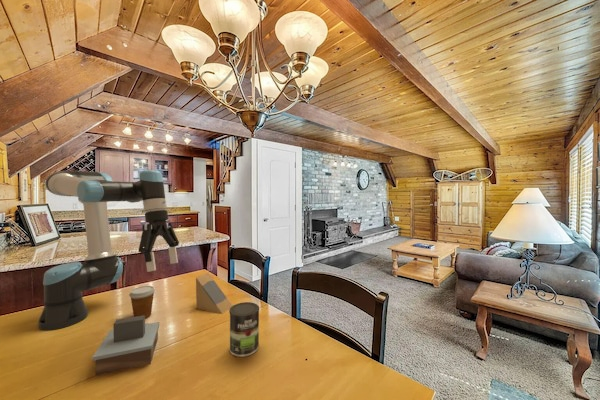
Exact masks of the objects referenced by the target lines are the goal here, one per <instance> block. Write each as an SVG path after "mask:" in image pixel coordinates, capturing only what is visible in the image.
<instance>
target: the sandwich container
mask: <svg viewBox="0 0 600 400" xmlns="http://www.w3.org/2000/svg"><path fill="white" fill-rule="evenodd" d="M195 292H196V294H195V296H196V299H195V300H196V306H195V307H196V309H198V310H202V311H206V312H212V313H216V314H220V315H223V314H224V313H226V312H227V311H229V310H230V308H231V307H232V306H233V304H232V302H231V301H230V300H229V299H228V297H227V296H226V295H225V293H224V292H223V291H222V290H221V288H220V286H219V285H218V284H217V282H216V281H215V279H214V278H213V277H212V275H211V274H210V273H209V272H206V273H202V274H200V275H198V276H196V278H195Z"/></svg>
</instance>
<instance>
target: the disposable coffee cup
mask: <svg viewBox="0 0 600 400" xmlns="http://www.w3.org/2000/svg"><path fill="white" fill-rule="evenodd" d="M155 292H156V288H155V287H154V286H152V285H144V286H143V285H142V286H138V287H135V288H133V289H132V290H131V291H130V292H129V295H128V296H129V297H130V300H131V301H130V302H131V307H132V313H133V317H136V316H143V315H145V320H146V319H147V318H150V317H151V316H152V310H153V301H154V296H155V295H154V294H155Z"/></svg>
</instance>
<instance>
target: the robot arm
mask: <svg viewBox="0 0 600 400" xmlns="http://www.w3.org/2000/svg"><path fill="white" fill-rule="evenodd" d="M138 179H139V180H137V181H114V180H113V178H112V176H111V175H110V174H108V173H106V172H99V171H84V170H83V171H80V170H60V171H55V172H53V173H51V174H49V175H48V176H47V177H46V179H45V181H44V184H45V185H44V186H45V188H46V190H47V191H48V192H50V193H51V194H53V195H55V196H59V197H60V196H61V197H77V198H78V202H80V204H82V205H83V215H84V223H85V225H84V226H85V234H86V235H85V236H86V243H87V245H86V246H87V256H86V257H85V258H84V263H83V264H82V263H81V262H79V261H72V262H65V263H63V264H62V263H61V264H58V265H55V266H53V267H51V268H49V269H48V270H46V271H45V272H44V273H43V282H42V285H43V308H42V311H41V314H40V316H39V320H38V323H37V324H38V329H40V330H41V331H42V330H43V331H51V330H58V329H62V328H66V327H70V326H72V325H75V324H77V323H79V322H81V321H84V320H85V319H86V318H87V317H88V315H89V310H88V306H87V305H86V303H85V301H84V299H83V292H86V291H88V290H92V289H96V288H99V287H102V286H108V285H111V284H113V283H116V282H117V281H119V280H120V279H121V276H122V275H123V271H124V264H123V261H122V259H121V258H120V257H119V256H117V254H116V253H115V252H113V250H112V242H111V233H110V232H111V231H110V226H109V225H110V223H109V215H108V214H109V213H108V203H109V202H128V203H130V204H131V203H132V204H133V203H140V202H141V201H142V205H143V206H142V207H143V212H145V213H144V219H145V223H146V224H142V227H141V228H142V232H141V238H140V242H139V246H138V252H139V253H140V254H143V255H144V261H145V265H146V272H147V273H148V272H153V271H154V272H155V271H156V270H157V267H156V261H155V260H156V259H155V253H154V251H152V250H153V249H154V245H155V242H156V241H157V238H158V237H159V236H160V237H162V238H163V240H164V241H165V242H166V245H168V246H169V247H167V248H168V256H169V264H170V265H171V264H172V265H173V264H178V263H179V261H178V253H177V251H178V250H177V247H178V246H179V243H180V242H179V240H178V236H177V235H176V233H175V231H174V227H173V224H172V222H167V221H168V219H169V213H168V211H167V207H168V206H167V201H166V193H165V192H166V191H165V185H164V180H163V179H164V178H163V174H162V172H161V171H159V170H154V169H151V170H150V169H148V170H143V171H141V172H139V178H138Z"/></svg>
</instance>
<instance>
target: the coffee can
mask: <svg viewBox="0 0 600 400" xmlns="http://www.w3.org/2000/svg"><path fill="white" fill-rule="evenodd" d="M232 305H233V304H232ZM228 311H229V353H230V354H231V355H233V356H235V357H240V358H244V357H248V356H251V355H253V354H254V353H256V352H257V351H259V348H260V347H259V346H260V345H259V344H260V343H259V342H260V341H259V340H260V339H259V335H260V333H259V332H260V327H259V326H260V323H259V322H260V316H259V315H260V306H259V304H257V303H254V302H251V301H250V302H249V301H247V302H246V301H245V302H239V303H235V304H234V305H233V306H232V307H231V308H230V309H229V310H228Z"/></svg>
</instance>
